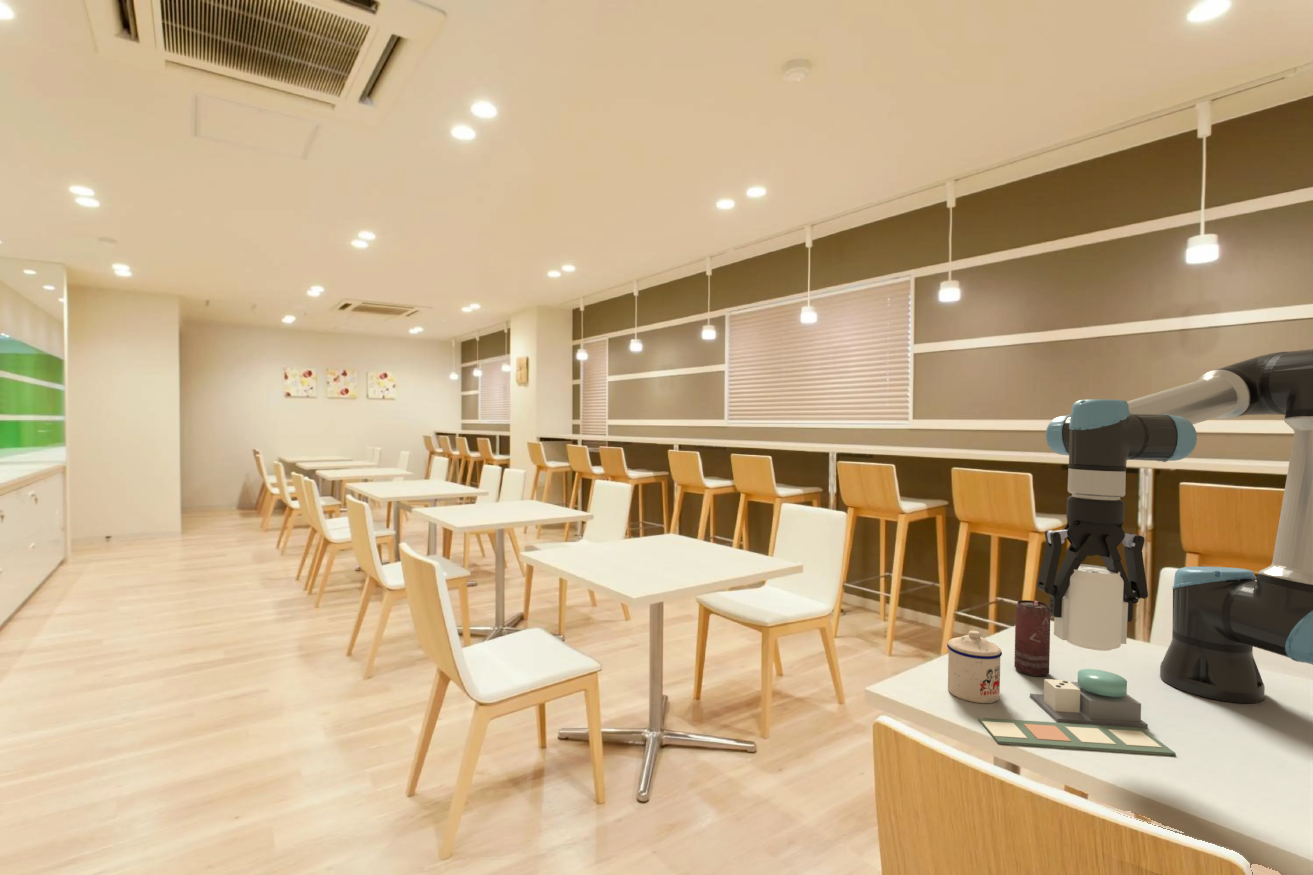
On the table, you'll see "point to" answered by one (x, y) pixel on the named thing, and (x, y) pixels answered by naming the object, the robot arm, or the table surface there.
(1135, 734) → the track
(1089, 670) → the dome cap
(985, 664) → the teacup with lid
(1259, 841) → the table surface
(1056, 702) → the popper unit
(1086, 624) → the beverage can
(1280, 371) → the robot arm
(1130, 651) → the table surface
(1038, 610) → the can
